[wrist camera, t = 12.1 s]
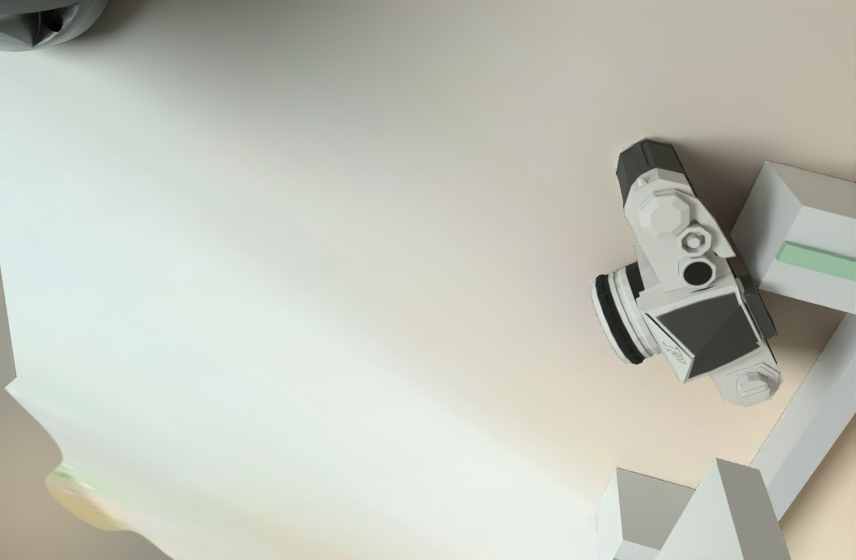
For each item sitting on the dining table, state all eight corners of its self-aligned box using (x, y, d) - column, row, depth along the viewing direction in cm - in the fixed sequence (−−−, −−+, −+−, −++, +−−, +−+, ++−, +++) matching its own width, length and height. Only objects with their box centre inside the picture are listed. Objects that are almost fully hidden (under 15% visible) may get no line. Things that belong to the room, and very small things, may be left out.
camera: (540, 182, 43) (535, 251, 34) (672, 115, 39) (703, 172, 31) (646, 366, 48) (665, 467, 39) (770, 321, 44) (821, 420, 36)
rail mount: (595, 509, 55) (599, 589, 49) (766, 160, 39) (805, 209, 33) (720, 545, 55) (742, 630, 48) (944, 205, 39) (1020, 264, 32)
